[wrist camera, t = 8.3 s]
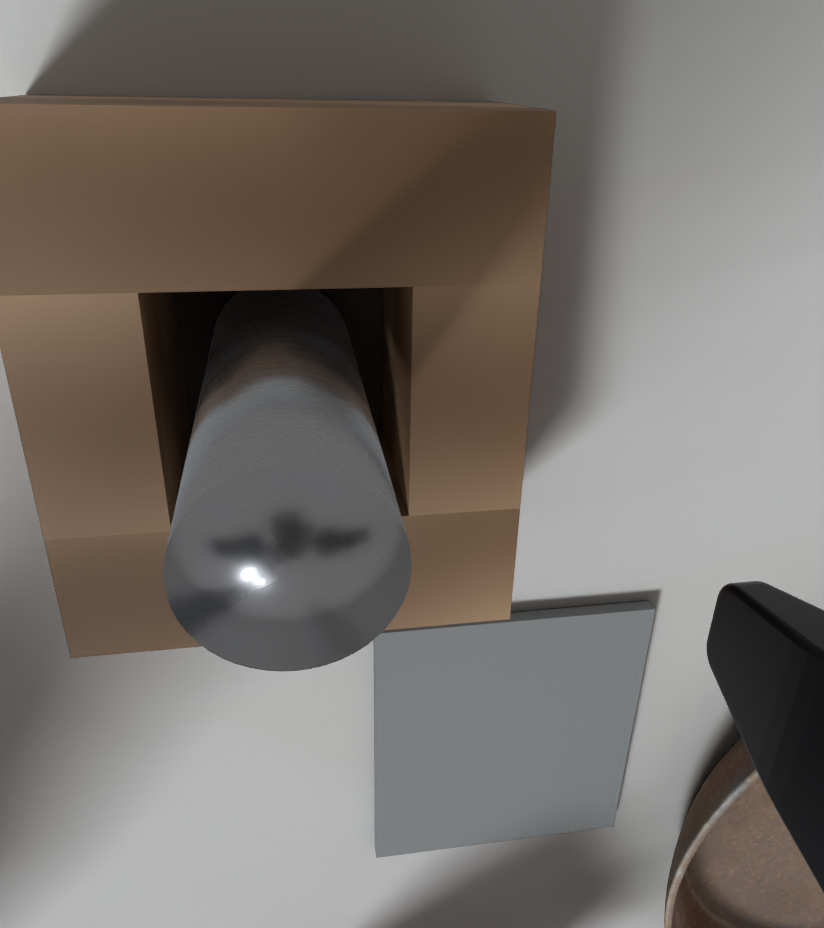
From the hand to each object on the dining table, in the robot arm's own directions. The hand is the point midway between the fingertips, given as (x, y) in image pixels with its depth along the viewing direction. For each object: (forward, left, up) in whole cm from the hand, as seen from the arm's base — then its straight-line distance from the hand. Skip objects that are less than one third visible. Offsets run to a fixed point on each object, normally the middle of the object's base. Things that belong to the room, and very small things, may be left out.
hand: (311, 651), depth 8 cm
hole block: (0, 0, -11) cm, 11 cm away
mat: (-13, -6, -11) cm, 18 cm away
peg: (0, 0, -11) cm, 11 cm away
